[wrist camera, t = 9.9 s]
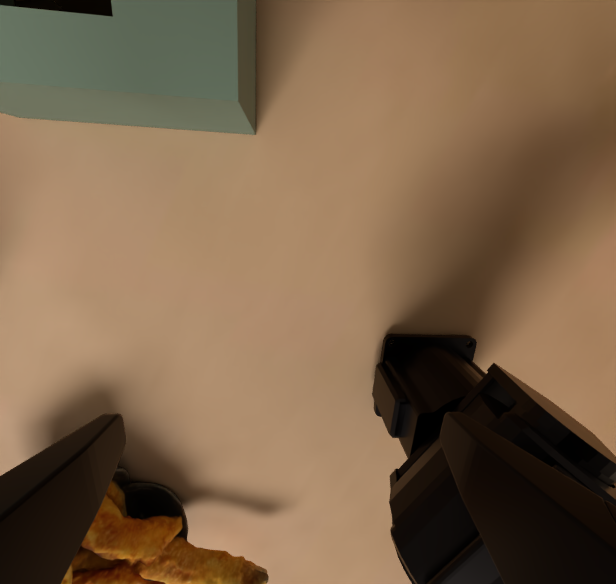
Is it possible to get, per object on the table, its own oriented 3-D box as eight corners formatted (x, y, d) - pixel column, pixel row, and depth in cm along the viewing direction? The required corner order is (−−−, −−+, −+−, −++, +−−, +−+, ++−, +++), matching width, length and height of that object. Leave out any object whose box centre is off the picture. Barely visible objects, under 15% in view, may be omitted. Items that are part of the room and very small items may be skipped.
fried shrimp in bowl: (-45, 463, 17) (257, 626, 14) (106, 416, 28) (294, 503, 25) (-131, 643, 16) (177, 858, 13) (61, 521, 27) (252, 625, 24)
